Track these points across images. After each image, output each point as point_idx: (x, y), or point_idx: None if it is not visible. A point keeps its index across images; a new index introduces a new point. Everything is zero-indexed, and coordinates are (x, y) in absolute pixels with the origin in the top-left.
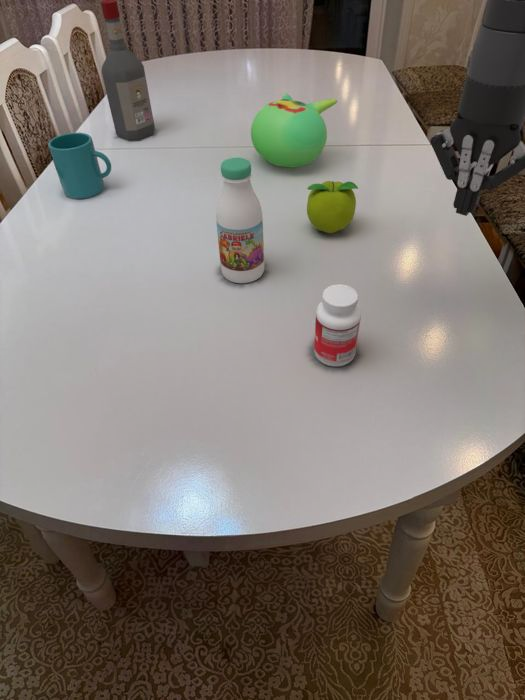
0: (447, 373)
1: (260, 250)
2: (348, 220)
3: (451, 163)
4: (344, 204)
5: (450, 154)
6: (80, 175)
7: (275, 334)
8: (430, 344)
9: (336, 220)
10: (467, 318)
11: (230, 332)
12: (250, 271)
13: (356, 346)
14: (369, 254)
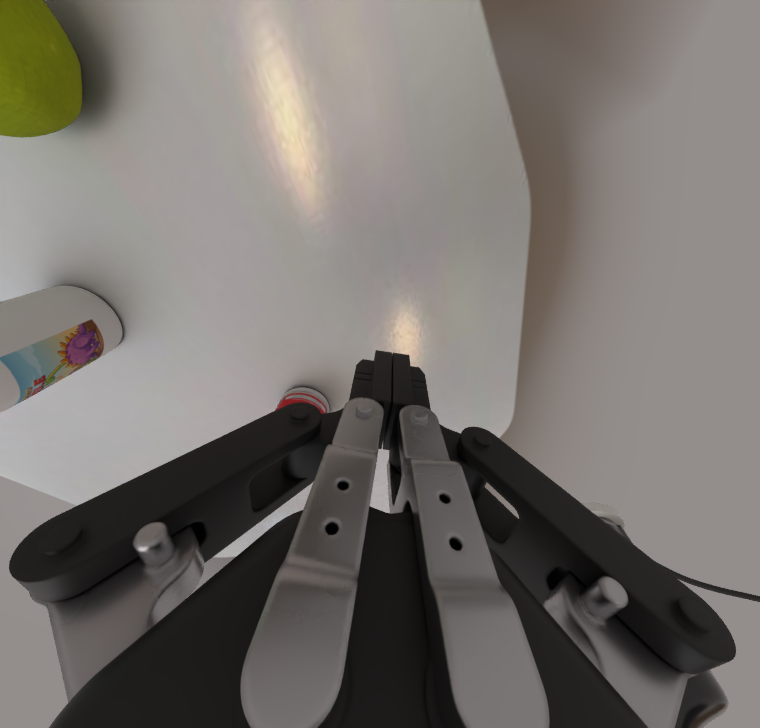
0: (433, 383)
1: (74, 343)
2: (70, 73)
3: (275, 502)
4: (6, 75)
5: (237, 512)
6: None
7: (232, 405)
8: (403, 348)
9: (56, 118)
10: (443, 270)
11: (190, 420)
12: (105, 349)
13: (325, 412)
14: (207, 144)
